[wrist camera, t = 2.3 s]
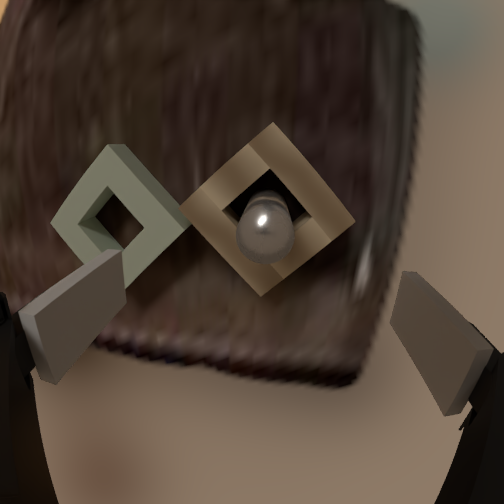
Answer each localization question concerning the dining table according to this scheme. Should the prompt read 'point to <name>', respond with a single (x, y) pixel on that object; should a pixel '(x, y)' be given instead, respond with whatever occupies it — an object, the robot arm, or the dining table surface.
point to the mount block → (241, 177)
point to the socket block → (136, 201)
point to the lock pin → (265, 228)
